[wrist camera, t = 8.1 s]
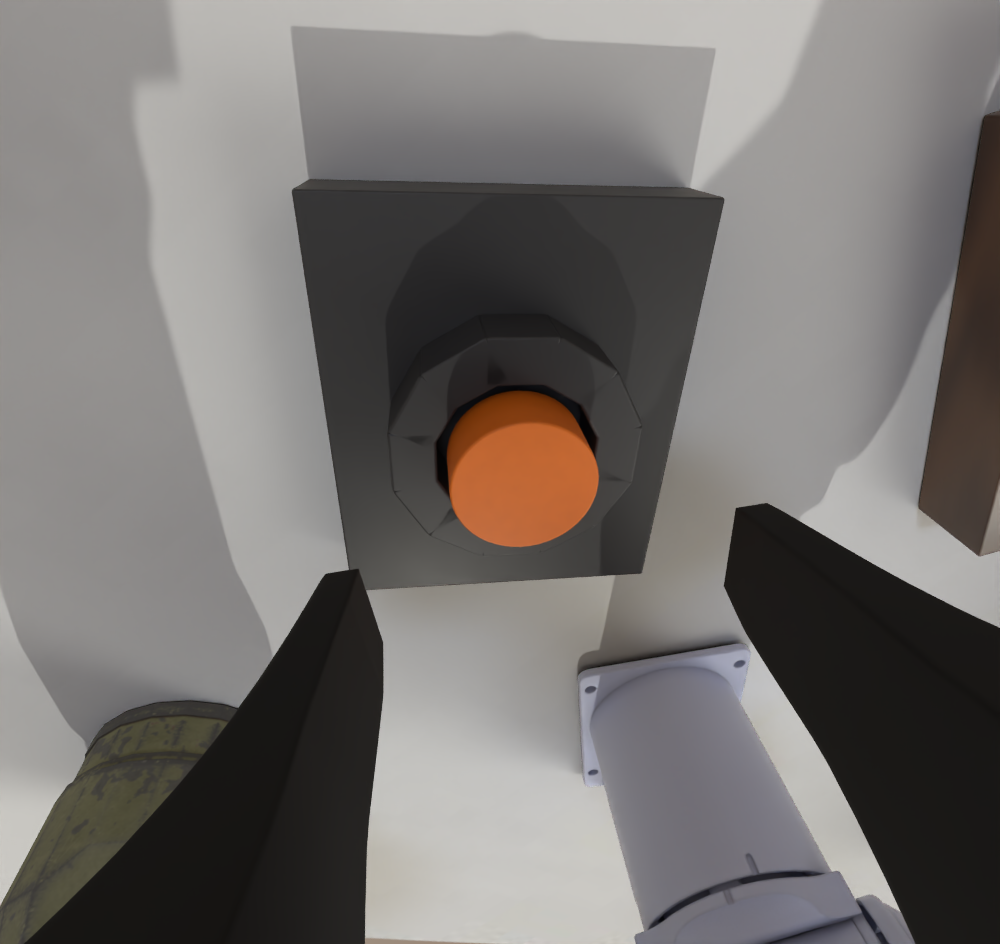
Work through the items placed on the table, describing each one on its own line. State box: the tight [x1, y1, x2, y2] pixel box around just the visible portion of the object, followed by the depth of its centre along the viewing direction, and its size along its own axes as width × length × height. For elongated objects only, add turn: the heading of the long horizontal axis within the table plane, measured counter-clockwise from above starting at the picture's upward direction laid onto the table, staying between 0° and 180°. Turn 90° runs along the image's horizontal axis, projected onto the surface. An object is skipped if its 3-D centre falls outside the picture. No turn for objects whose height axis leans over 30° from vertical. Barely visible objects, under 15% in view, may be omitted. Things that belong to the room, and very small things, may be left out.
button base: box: [292, 179, 724, 590], centre depth 16 cm, size 12×10×4 cm
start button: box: [447, 390, 599, 547], centre depth 14 cm, size 4×4×2 cm
